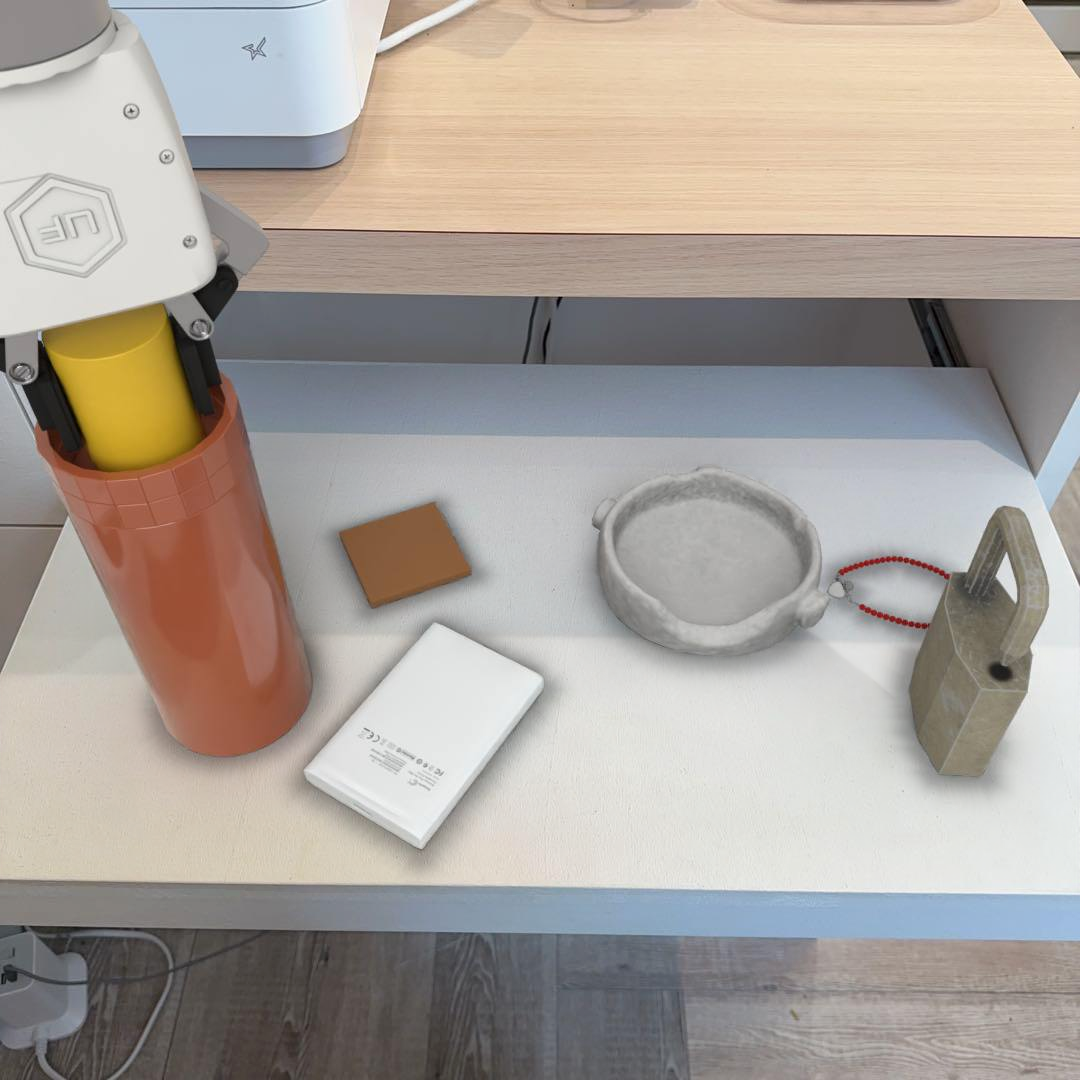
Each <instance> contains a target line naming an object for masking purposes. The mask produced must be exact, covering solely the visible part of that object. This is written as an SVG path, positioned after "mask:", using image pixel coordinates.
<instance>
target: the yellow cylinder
mask: <svg viewBox="0 0 1080 1080" xmlns="http://www.w3.org/2000/svg"><path fill="white" fill-rule="evenodd" d="M168 312H169V311H168V308H167V307H166V306H165V304H164V303H163V302H161V303H157V304H153V305H149V306H145V307H141V308H137V309H133V310H129V311H125V312H120V313H116V314H112V315H108V316H104V317H100V318H95V319H91V320H87V321H83V322H78V323H74V324H70V325H66V326H61V327H57V328H53V329H48V330H44V331H41V334H40V337H41V341H42V343H43V345H44V347H45V349H46V352H47V354H48V357H49V359H50V361H51V364H52V366H53V368H54V371H55V373H56V376H57V378H58V380H59V383H60V385H61V388H62V390H63V393H64V395H65V397H66V400H67V402H68V405H69V407H70V409H71V412H72V414H73V417H74V419H75V421H76V424H77V426H78V429H79V431H80V433H81V436H82V438H83V441H84V443H85V446H86V448H87V450H88V453H89V455H90V458H91V460H92V462H93V465H94V467H95V470H96V471H102V472H109V473H110V472H123V471H136V470H141V469H145V468H149V467H152V466H156V465H159V464H163V463H167V462H169V461H171V460H173V459H175V458H177V457H179V456H181V455H183V454H185V453H187V452H188V451H190V450H192V449H193V448H195V447H196V446H197V445H198V444H199V443H200V442H202V441H203V440H204V439H205V438H206V437H205V433H204V430H203V427H202V424H201V420H200V417H199V414H198V411H197V408H196V405H195V402H194V399H193V395H192V392H191V389H190V386H189V382H188V379H187V376H186V373H185V369H184V366H183V363H182V360H181V356H180V353H179V350H178V346H177V343H176V340H175V337H174V332H173V329H172V326H171V322H170V319H169V313H168Z"/></svg>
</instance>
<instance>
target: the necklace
mask: <svg viewBox="0 0 1080 1080" xmlns="http://www.w3.org/2000/svg"><path fill="white" fill-rule="evenodd" d="M890 562H893V563H896V562H897V563H904V564H909V565H911V566H916V567H918V568H920V567H921V569H923V570H926V569H927V571H929V572H933V573H934V574H938V576H940V577H943V579H944V580H946V581H948V578H949V576H950V573H948V572H947V573H946V571H945V570H944V569H940V568H939V567H937V566H935V565H933V564H928V563H927V562H922V561H920V560H916V559H915V558H911V559H910V557H903V556H902V555H901V556H896V555H893V556H890V555H887V556H886V557H885V556H881V557H876V558H870V559H869V560H864V561H859V562H858V563H857V562H856V563H855V562H854V564H849V565H848V566H845V567H843V568H840V569H839V570H838V572H837V574H836V575H835V576H834V577H833V579H834V580H835V581H833V582H832V583H831V584H829V586H828V588H827V595H829V596H830V597H832V598H834V599H838V600H841V599H843V598H846V600H847V601H848V602H849V603H851V604H854V605H855V606H857V607H858V609H859V610H860V611H864V613H866V614H870V616H872V617H876V618H878V619H883V620H884V621H889V622H890V623H895V624H896V625H902V626H904V627H907V626H908V627H909V628H915V629H916V630H917V629H922V630H926V629H927V630H928V628H929V625H930V623H931V622H928V623H926V622H922V623H921V622H919V621H917V622H914V621H913V620H907V619H902V618H901V617H896V616H894V615H889V614H888V613H883V612H881V611H877V610H876V609H872V608H871V607H869V606H866V605H865V604H864V603H857V602H855V601H854V600H852V599H853V598H852V595H850V594H849V592H852V590H853V589H854V587H855V585H854V583H853V582H852V581H850V580H844V579H842V578H841V577H840V576H844V575H845V574H848V573H849V572H853V571H854V570H858V569H862V568H864V567H868V566H874V565H875V564H876V565H879V564H884V563H890ZM846 594H847V595H846ZM848 598H850V599H848Z"/></svg>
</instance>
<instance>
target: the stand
mask: <svg viewBox="0 0 1080 1080" xmlns="http://www.w3.org/2000/svg"><path fill="white" fill-rule="evenodd" d="M218 370H219V374H220V377H221V381H222V384H221V385H217V386H213V387H210V388H208V390H209V393H210V397H211V400H212V403H213V407H214V410H215V414H212V415H208V416H204V414H200V415H199V417H200V420H201V424H202V427H203V430H204V433H205V437H206V438H205V439H204V440H203V441H202V442H200V443H199V444H198V445H197V446H196V447H195V448H193V449H192V450H190V451H188V452H187V453H185V454H183V455H181V456H179V457H177V458H175V459H173V460H171V461H169V462H167V463H163V464H159V465H156V466H152V467H149V468H145V469H141V470H136V471H123V472H110V473H109V472H102V471H96V470H95V467H94V465H93V462H92V460H91V458H90V455H89V453H88V450H87V448H86V446H85V443H84V441H83V438H82V436H81V438H82V442H83V446H82V447H79V448H80V450H79V451H75V452H71V453H67V451H66V449H65V446H64V444H63V442H62V439H61V437H60V435H59V432H58V430H57V428H54V429H50V430H46V431H42V430H41V428H40V426H39V424H38V421H37V420H36V423H35V426H34V428H33V435H34V441H35V445H36V450H37V454H38V455H39V457H40V459H41V461H42V464H43V466H44V468H45V470H46V473H47V474H48V477H49V479H50V482H51V483H52V486H53V488H54V489H55V492H56V495H57V496H58V498H59V500H60V501H61V502H62V505H63V507H64V509H65V510H66V513H67V516H68V518H69V520H70V522H71V524H72V526H73V528H74V531H75V533H76V535H77V538H78V539H79V541H80V544H81V546H82V548H83V550H84V553H85V555H86V557H87V559H88V561H89V564H90V565H91V568H92V570H93V573H94V574H95V577H96V578H97V581H98V583H99V585H100V587H101V589H102V591H103V594H104V595H105V596H104V597H106V600H107V602H108V605H109V607H110V609H111V612H112V613H113V615H114V618H115V620H116V622H117V624H118V626H119V629H120V631H121V633H122V635H123V637H124V639H125V641H126V644H127V646H128V649H129V650H130V652H131V655H132V657H133V659H134V660H135V663H136V666H137V668H138V670H139V672H140V674H141V677H142V678H143V681H144V683H145V685H146V687H147V689H148V693H149V694H150V696H151V698H152V700H153V702H154V704H155V707H156V709H157V712H158V714H159V715H160V717H161V720H162V722H163V724H164V726H165V728H166V730H167V732H168V733H169V735H170V736H172V738H173V739H174V740H175V741H176V742H177V743H178V744H179V745H181V746H183V747H184V748H186V749H187V750H190V751H193V752H195V753H197V754H201V755H205V756H209V757H210V756H211V757H236V756H240V755H245V754H248V753H249V754H250V753H252V752H255V751H258V750H260V749H263V748H265V747H267V746H269V745H271V744H272V743H274V742H276V741H278V740H279V739H281V738H282V737H283V736H284V735H285V734H286V733H288V732H289V731H291V729H292V728H293V727H295V725H296V724H297V723H298V721H299V720H300V718H301V717H302V716H303V714H304V712H305V710H306V709H307V707H308V704H309V702H310V699H311V695H312V690H313V678H312V672H311V669H310V664H309V661H308V657H307V653H306V650H305V645H304V642H303V639H302V638H303V637H302V635H301V631H300V626H299V623H298V620H297V615H296V611H295V609H294V604H293V602H292V601H293V600H292V597H291V594H290V590H289V586H288V583H287V579H286V575H285V571H284V568H283V567H284V566H283V564H282V560H281V557H280V553H279V549H278V545H277V542H276V538H275V534H274V531H273V527H272V523H271V518H270V516H269V515H270V514H269V513H268V512H269V511H268V508H267V504H266V501H265V497H264V493H263V489H262V486H261V485H262V484H261V482H260V478H259V474H258V471H257V467H256V463H255V460H254V459H255V458H254V455H253V452H252V448H251V441H250V437H249V433H248V430H247V426H246V423H245V418H244V414H243V412H242V407H241V403H240V400H239V396H238V394H237V391H236V389H235V387H234V384H233V382H232V380H231V378H230V377H228V376H227V375H226V374H225V373H224V372H223V371H221V370H220V368H218ZM197 411H198V410H197ZM198 414H199V413H198Z"/></svg>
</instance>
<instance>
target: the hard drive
mask: <svg viewBox="0 0 1080 1080" xmlns="http://www.w3.org/2000/svg"><path fill="white" fill-rule="evenodd" d="M544 688H545V679H544V677H543V676H542V675H540V674H539V673H537V672H535V671H533V670H532V669H530V668H528V667H526V666H524V665H522V664H519V663H518V662H516V661H515V660H512V659H510V658H509V657H506V656H504V655H503V654H500V653H498V652H496V651H494V650H492V649H490V648H489V647H486V646H485V645H482V644H481V643H479V642H477V641H475V640H473V639H471V638H469V637H466V636H465V635H463V634H461V633H458V632H457V631H455V630H453V629H451V628H449V627H447V626H445V625H443V624H441V623H438V622H432V624H430V625H429V627H428V628H427V629H426V630H425V632H424V633H423V634H422V635H421V636H420V637H419V638H418V640H417V641H416V642H414V644H413V645H412V646H411V647H410V649H409V650H408V651H407V652H405V654H404V655H403V657H402V658H401V659H400V660H399V661H398V662H397V663H396V664H395V666H394V667H393V668H392V669H391V670H390V671H389V672H388V674H387V675H386V676H385V677H383V679H382V680H381V682H380V683H379V684H378V685H377V686H376V687H375V688H374V690H373V691H371V693H370V694H368V696H367V697H366V698H365V700H363V702H362V703H361V704H360V705H359V706H358V707H357V708H356V710H354V712H353V713H352V714H351V716H349V718H348V719H347V720H346V721H345V722H344V723H343V724H342V726H341V727H340V728H339V729H338V730H337V731H336V733H334V735H333V736H332V737H330V739H329V740H328V741H327V743H326V744H325V745H324V746H323V747H322V748H321V750H320V751H319V752H318V753H317V754H316V755H315V756H314V757H313V758H312V760H311V761H310V762H309V763H308V764H307V766H305V767H304V769H303V774H304V776H305V780H306V781H307V782H308V783H310V784H311V785H312V786H314V787H315V788H317V789H318V790H320V791H321V792H323V793H325V794H327V795H328V796H330V797H331V798H333V799H335V800H337V801H338V802H340V803H342V804H343V805H345V806H346V807H348V808H350V810H351V809H352V811H354V812H356V813H357V814H360V815H361V816H363V817H365V818H367V819H368V820H369V821H371V822H373V823H374V824H375V825H376V824H377V825H378V826H379V827H380V828H383V829H385V830H386V831H388V832H390V833H391V834H393V835H395V836H396V837H398V838H400V839H401V840H402V841H405V842H406V843H408V844H409V845H411V846H413V847H414V848H417V849H420V850H424V848H425V846H426V845H427V844H428V842H429V841H430V840H431V839H432V837H433V836H434V834H435V833H436V832H437V831H438V829H439V828H440V827H441V826H442V824H443V823H444V822H445V820H446V819H447V818H448V816H449V815H450V814H451V812H452V811H453V810H454V809H455V807H456V806H457V805H458V803H459V802H460V800H461V799H462V798H463V796H464V795H465V794H466V792H467V791H468V790H469V788H470V787H471V786H472V785H473V784H474V782H475V780H477V778H478V777H479V775H480V774H481V773H482V771H483V770H484V769H485V768H486V766H487V764H488V763H489V762H490V761H491V760H492V758H493V757H494V755H495V754H496V753H497V751H498V750H499V748H500V747H502V745H503V743H504V742H505V741H506V739H507V738H508V736H510V734H511V733H512V732H513V730H514V728H515V727H516V726H517V725H518V723H519V722H520V721H521V720H522V718H523V717H524V716H525V714H526V713H527V711H528V710H529V709H530V707H531V706H532V705H533V704H534V702H535V701H536V700H537V698H538V697H539V696H540V694H541V693H542V692H543V690H544Z"/></svg>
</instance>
